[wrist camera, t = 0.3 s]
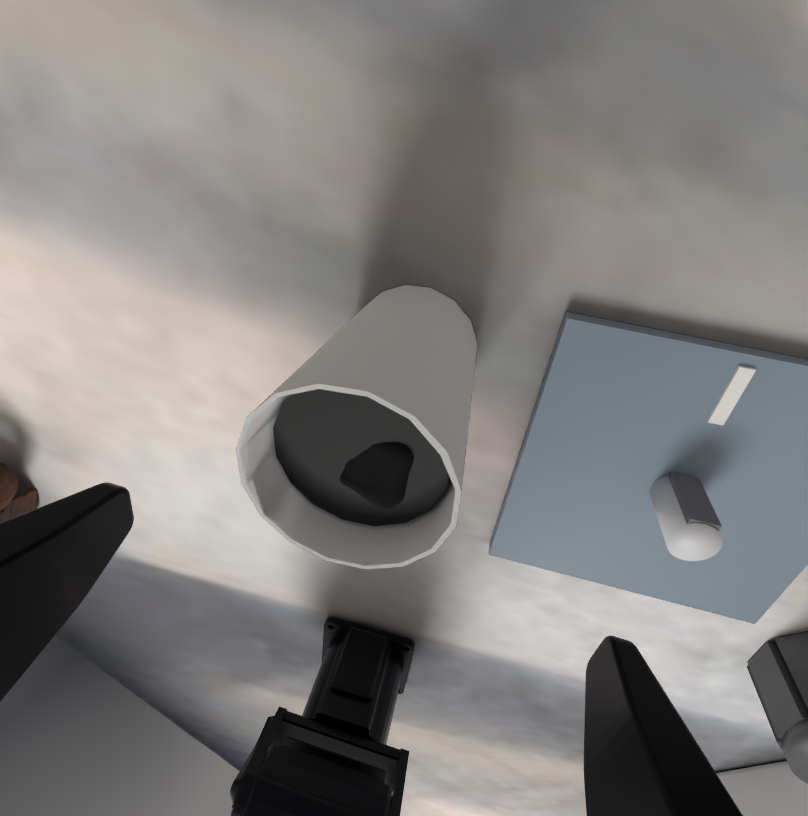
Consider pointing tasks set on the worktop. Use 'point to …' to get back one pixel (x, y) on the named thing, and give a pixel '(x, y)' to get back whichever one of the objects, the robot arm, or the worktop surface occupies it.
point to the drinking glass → (369, 435)
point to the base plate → (664, 468)
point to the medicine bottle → (767, 790)
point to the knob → (785, 695)
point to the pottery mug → (5, 504)
